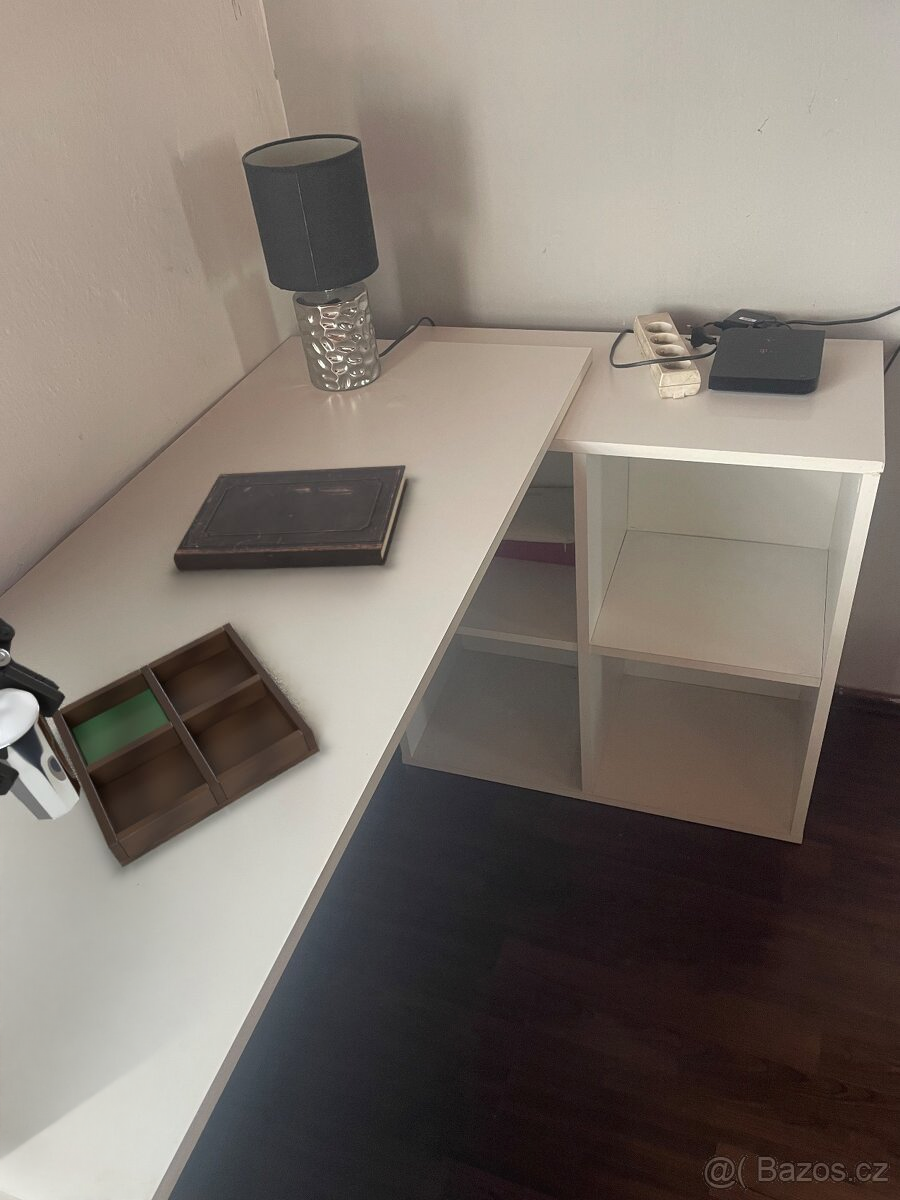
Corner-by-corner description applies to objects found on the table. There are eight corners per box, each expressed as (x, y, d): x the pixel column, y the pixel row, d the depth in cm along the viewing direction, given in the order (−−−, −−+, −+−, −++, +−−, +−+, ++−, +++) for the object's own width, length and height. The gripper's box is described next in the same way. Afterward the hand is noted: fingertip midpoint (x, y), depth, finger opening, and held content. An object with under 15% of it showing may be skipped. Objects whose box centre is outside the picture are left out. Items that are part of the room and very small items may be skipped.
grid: (122, 867, 66) (108, 847, 65) (63, 733, 78) (50, 713, 76) (319, 751, 73) (312, 729, 71) (238, 642, 84) (229, 621, 82)
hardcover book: (225, 489, 106) (219, 473, 104) (408, 481, 102) (405, 464, 100) (178, 573, 94) (171, 557, 92) (384, 568, 90) (379, 551, 88)
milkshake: (-4, 830, 55) (-88, 729, 48) (53, 764, 58) (-18, 661, 52) (51, 849, 53) (-29, 746, 47) (105, 780, 57) (39, 676, 50)
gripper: (-375, 659, 38) (-5, 822, 44) (-167, 477, 49) (109, 628, 55) (-383, 735, 43) (-45, 875, 48) (-191, 553, 53) (68, 685, 59)
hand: (35, 743), depth 52 cm, fingers closed on milkshake, 5 cm apart
